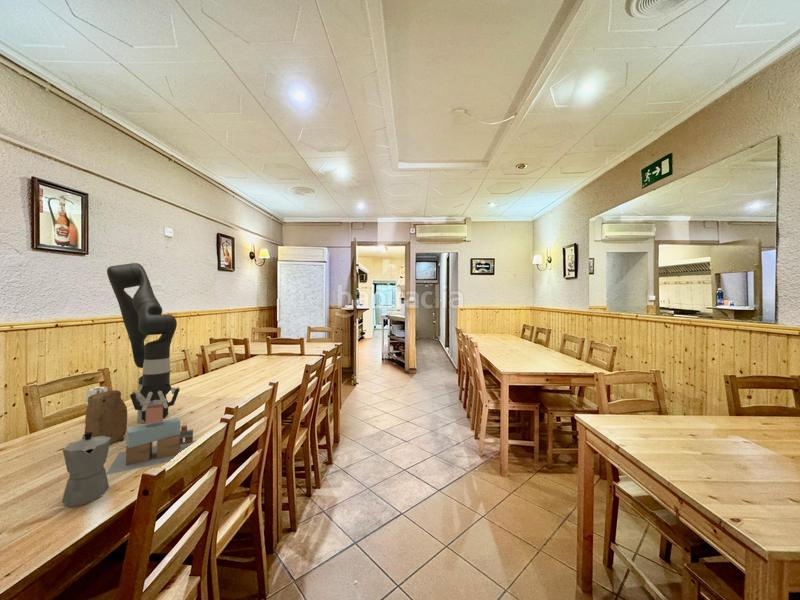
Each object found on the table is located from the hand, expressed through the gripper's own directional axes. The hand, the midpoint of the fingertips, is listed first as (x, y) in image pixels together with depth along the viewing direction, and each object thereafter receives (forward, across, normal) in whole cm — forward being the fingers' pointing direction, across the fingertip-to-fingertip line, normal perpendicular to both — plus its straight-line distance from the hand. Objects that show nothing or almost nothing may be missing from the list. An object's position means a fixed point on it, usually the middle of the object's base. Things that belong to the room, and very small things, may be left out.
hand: (155, 419), depth 105 cm
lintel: (+7, 0, 0) cm, 7 cm away
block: (+14, -17, +21) cm, 30 cm away
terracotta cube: (0, 0, 0) cm, 0 cm away
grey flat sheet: (+14, 0, +1) cm, 14 cm away
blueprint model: (+13, +8, +6) cm, 16 cm away
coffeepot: (+14, -13, -16) cm, 25 cm away
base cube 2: (+13, +4, 0) cm, 14 cm away
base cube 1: (+13, -4, 0) cm, 13 cm away
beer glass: (+14, -27, +51) cm, 59 cm away
